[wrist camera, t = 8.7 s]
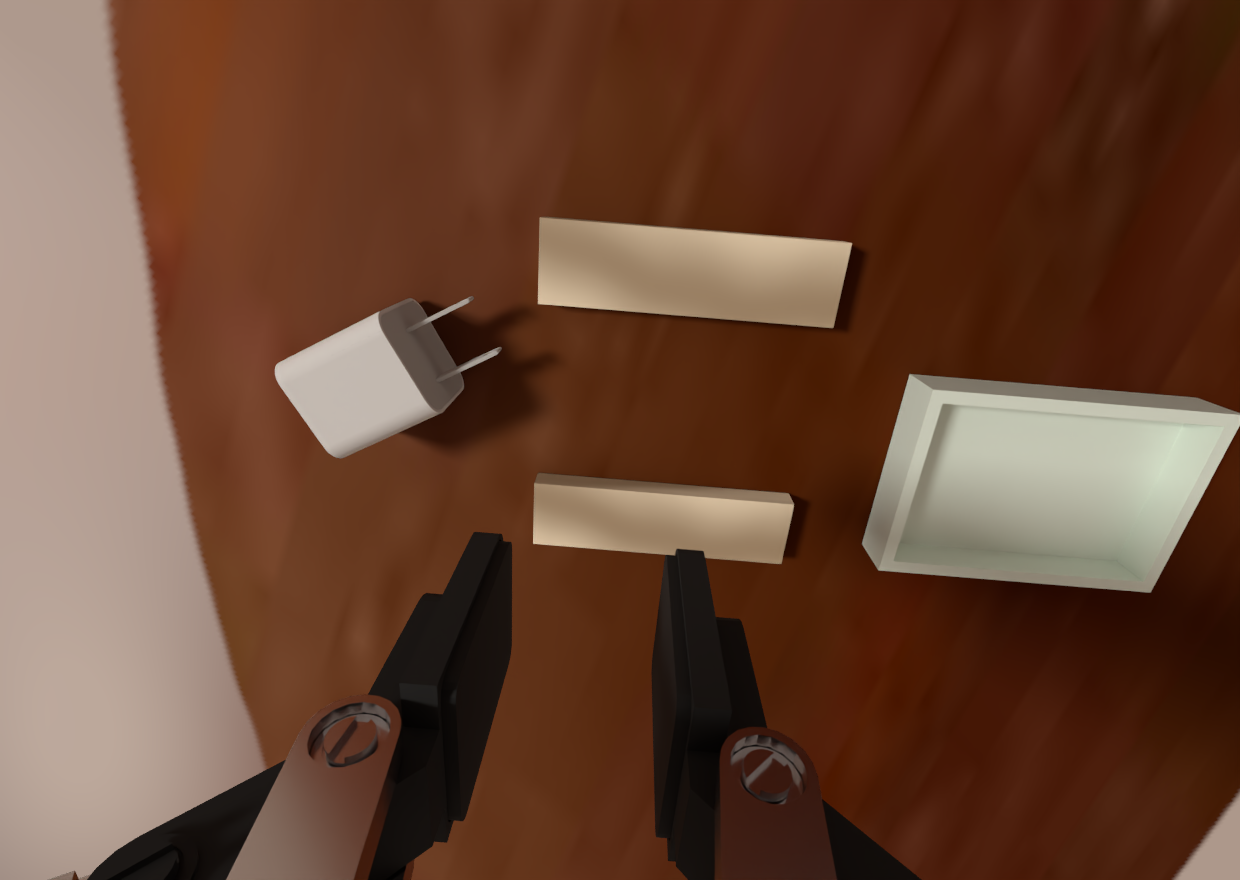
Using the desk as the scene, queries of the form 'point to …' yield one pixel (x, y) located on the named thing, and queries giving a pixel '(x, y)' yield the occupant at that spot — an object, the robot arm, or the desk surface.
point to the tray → (1042, 482)
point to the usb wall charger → (374, 378)
